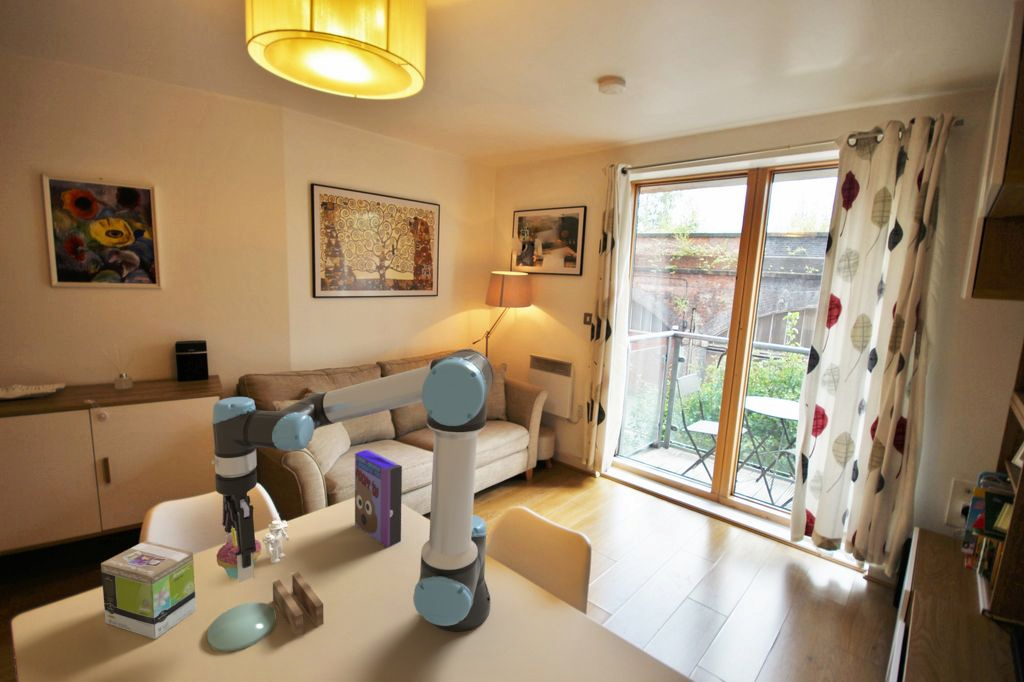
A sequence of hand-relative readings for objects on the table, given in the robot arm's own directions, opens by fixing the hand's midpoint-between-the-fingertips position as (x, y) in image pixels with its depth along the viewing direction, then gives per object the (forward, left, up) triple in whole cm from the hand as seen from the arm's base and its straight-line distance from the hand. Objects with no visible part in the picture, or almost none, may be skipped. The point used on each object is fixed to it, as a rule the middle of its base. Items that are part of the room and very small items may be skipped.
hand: (239, 568), depth 100 cm
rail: (-3, -9, -14) cm, 17 cm away
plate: (0, 0, -14) cm, 14 cm away
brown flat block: (-3, -13, -14) cm, 20 cm away
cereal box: (+15, -41, -15) cm, 46 cm away
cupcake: (0, 0, -1) cm, 1 cm away
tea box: (+17, +14, -15) cm, 26 cm away
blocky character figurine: (+21, -14, -15) cm, 29 cm away
